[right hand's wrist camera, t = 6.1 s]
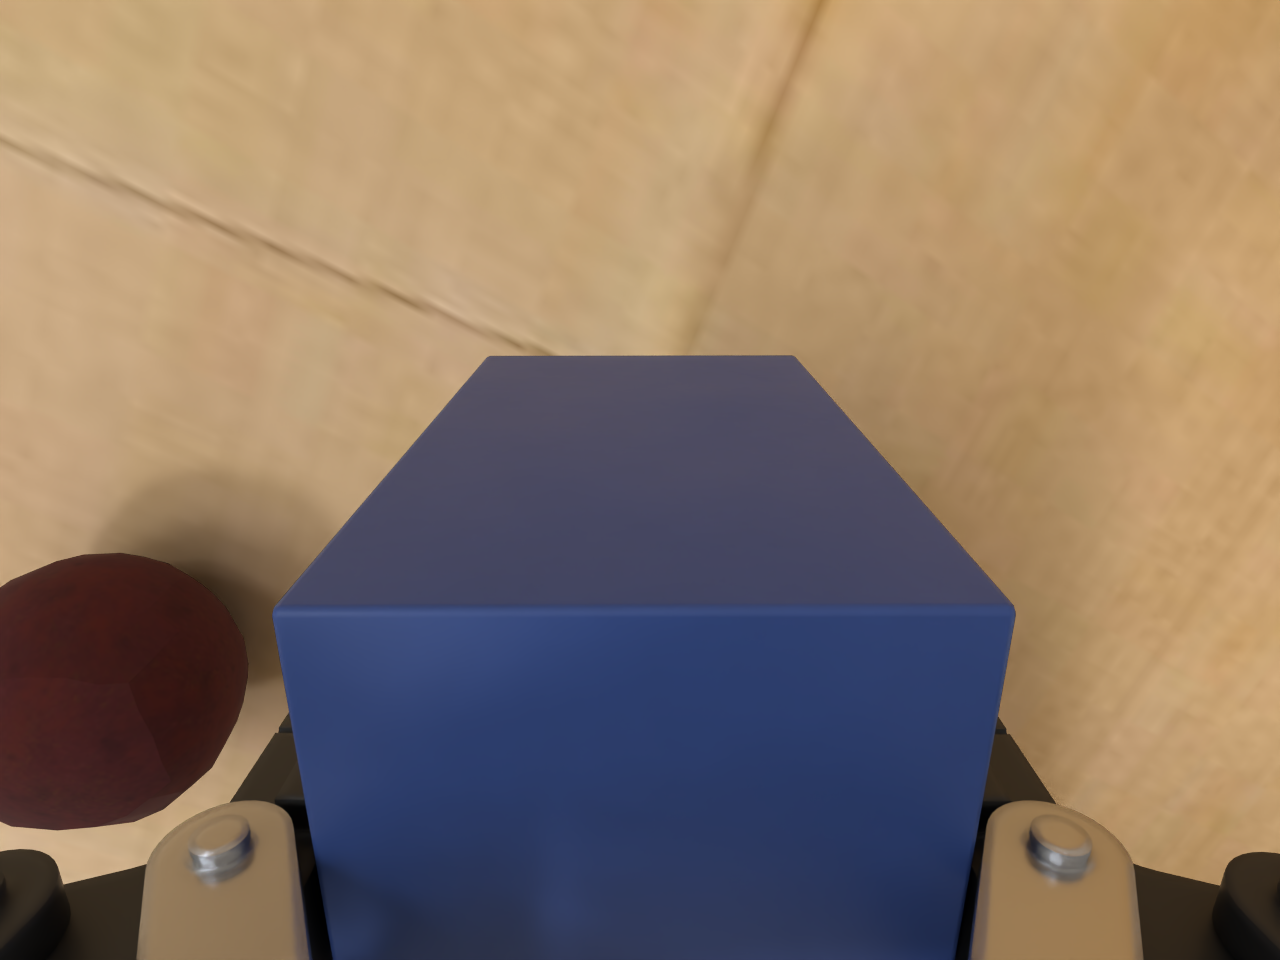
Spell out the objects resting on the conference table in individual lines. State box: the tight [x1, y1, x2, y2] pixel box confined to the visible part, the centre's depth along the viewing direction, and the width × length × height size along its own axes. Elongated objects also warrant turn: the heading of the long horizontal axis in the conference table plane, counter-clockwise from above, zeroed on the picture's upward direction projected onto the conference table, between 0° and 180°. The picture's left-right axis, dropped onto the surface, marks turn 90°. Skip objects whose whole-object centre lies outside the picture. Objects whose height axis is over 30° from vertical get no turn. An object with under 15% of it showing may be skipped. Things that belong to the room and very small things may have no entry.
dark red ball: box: [0, 553, 248, 830], centre depth 23 cm, size 7×8×7 cm
